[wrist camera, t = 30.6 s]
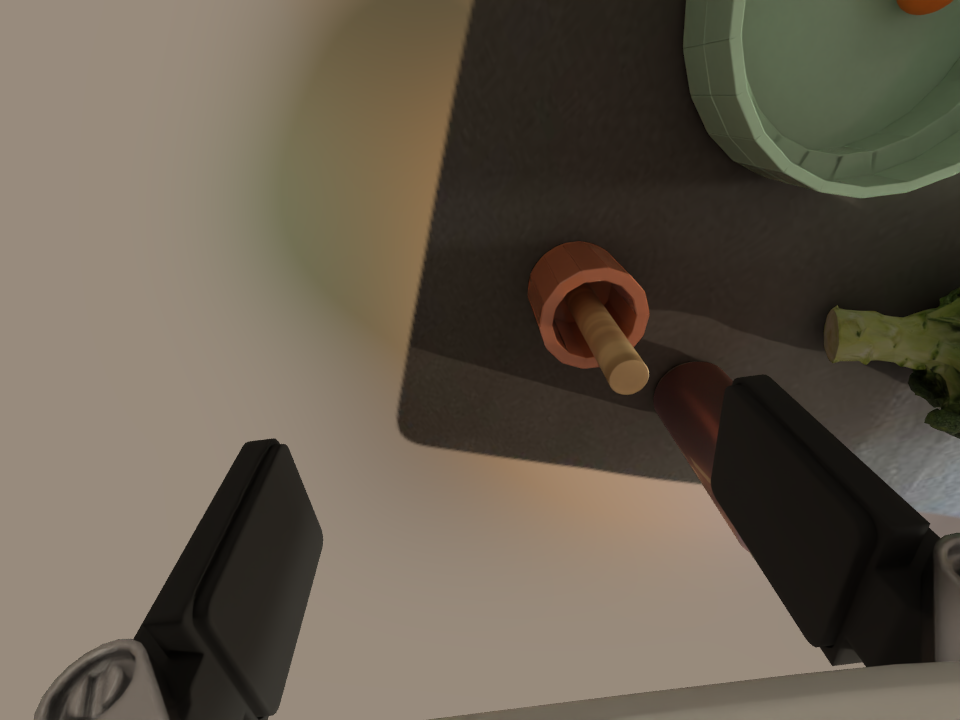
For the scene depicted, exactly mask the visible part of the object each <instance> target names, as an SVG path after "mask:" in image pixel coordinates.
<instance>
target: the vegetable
mask: <svg viewBox="0 0 960 720" xmlns="http://www.w3.org/2000/svg"><path fill="white" fill-rule="evenodd" d="M823 333H824V349H825V351H826V354H827V356H828V359H829V361H831V362H832V363H836V362H839V361H860V362H861V363H863V364H865V365H867V364H868V363H869V362H870V361H872V360H880V361H889V362H895V363H896V364H898V365H899V366H900V367H909V368H912V371H913V373H912V374H911V375H910V378H909V381H908V384H909V386H910V389H911V390H912V391H913V392H914V393H915V395H918V396H921V397H922V398H924V399H926V400H927V401H928V403H929V404H930V405H932V406H933V407H934V408H937V407H941V409H940V410H939V409H934V410H932V411H931V412H929V413H928V415H927V416H926V418H925V422H924V423H927V424H930V426H931V427H933V428H935V429H937V430H940V431H944V432H946V433H948V434H950V435H952V436H955V437H957V438H959V439H960V287H959V288H957V289H955V290H953V291H951V292H950V293H949V294H948V295H947V296H944V297H942V298H940V305H939V307H938V308H934V309H927V310H924V311H921V312H918V313H914V314H911V315H909V316H906V317H904V318H901V317H892V316H886V315H882V314H880V313H878V312H876V311H856V310H845V309H840V308H839V307H838V305H837V306H835V307H834V308H833V309H831V310H830V312H829V314H828V315H827V318H826V322H825V325H824V331H823Z"/></svg>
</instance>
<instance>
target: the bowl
mask: <svg viewBox="0 0 960 720" xmlns="http://www.w3.org/2000/svg"><path fill="white" fill-rule="evenodd" d="M683 48H684V49H683V53H684V59H685V65H686V71H687V77H688V84H689V90H690V95H691V98H692V100H693V102H694V105H695V107H696V109H697V111H698V113H699V115H700V118H701V120H702V122H703V124H704V126H705V128H706V131H707V132H708V134H709V136H710V137H711V138H712V139H713V140H714V141H715V142H716V143H717V144H718V145H719V146H720V147H721V149H722V150H723V151H724V152H725V153H726V154H727V155H728V156H729V157H730V158H731V159H732V160H733V161H734V162H736V163H738V164H740V165H742V166H744V167H746V168H747V169H749V170H751V171H753V172H755V173H757V174H759V175H761V176H763V177H765V178H769V179H772V180H776V181H780V182H784V183H787V184H791V185H795V186H799V187H802V188H806V189H810V190H814V191H818V192H823V193H829V194H835V195H842V196H848V197H854V198H868V197H876V196H884V195H892V194H900V193H906V192H910V191H912V190H915V189H918V188H921V187H923V186H926V185H929V184H931V183H934V182H937V181H939V180H942V179H945V178H947V177H950V176H953V175H955V174H957V173H959V172H960V0H953V1H952V2H951V3H950V4H948V5H947V6H945V7H944V8H942V9H940V10H938V11H936V12H933V13H930V14H925V15H912V14H908V13H906V12H905V11H903V10H902V9H901V8H900V7H899V6H898V4H897V1H896V0H686V9H685V23H684V37H683Z"/></svg>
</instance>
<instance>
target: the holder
mask: <svg viewBox="0 0 960 720" xmlns="http://www.w3.org/2000/svg"><path fill="white" fill-rule="evenodd" d="M586 282H587V283H588V284H589V286H590V287H591V288H592V290H593V291H594V293H595V294H596V295H597V297H598V298H599V300H600V301H601V303H602V304H603V305H604V307H605V308H606V310H607V311H608V312H609V314H610V315H611V317H612V318H613V319H614V321H615V322H616V324H617V325H618V326H619V328H620V329H621V331H622V332H623V333H624V335H625V336H626V338H627V339H628V341H629V342H630V343H631V345H632V346H633V347H634V346H635V345H636V344H637V343H638V342H639V340H640V339H641V338H642V336H643V335H644V332H645V329H646V325H647V322H648V318H649V315H650V314H649V308H648V303H647V298H646V293H645V291H644V290H643V288H642V287H641V286H640V285H639V284H638V283H637V282H636V281H635V279H634V278H633V277H632V276H631V275H630V274H629V273H628V272H627V271H626V270H625V269H624V268H623V267H622V266H621V265H620V264H619V263H618V262H617V261H616V260H615V259H614V258H613V257H612V256H611V255H610V254H609V253H608V252H607V251H606V250H605V249H603V248H601V247H599V246H598V245H595V244H592V243H589V242H582V241H576V242H568V243H564V244H561V245H559V246H557V247H555V248H553V249H551V250H550V251H548V252H547V253H546V254H545V255H543V256H542V257H541V258H540V260H539V261H538V262H537V263H536V265H535V266H534V268H533V270H532V272H531V275H530V278H529V281H528V299H529V302H530V305H531V308H532V311H533V314H534V317H535V320H536V323H537V325H538V328H539V331H540V334H541V336H542V339H543V342H544V345H545V347H546V349H547V350H548V351H549V352H551V353H552V354H553V355H554V356H555V357H556V358H557V359H558V360H559V361H560V362H562V363H564V364H568V365H571V366H575V367H578V368H581V369H587V368H595V367H600V366H599V364H598V363H597V361H596V359H595V357H594V355H593V353H592V351H591V350H590V348H589V346H588V344H587V342H586V340H585V338H584V336H583V335H582V333H581V331H580V329H579V327H578V325H577V323H576V322H575V320H574V318H573V316H572V314H571V312H570V310H569V308H568V307H567V305H566V303H565V301H564V299H563V298H564V296H565V295H566V294H567V293H568V292H569V291H571V290H573V289H574V288H576V287H578V286H580V285H581V284H583V283H586Z"/></svg>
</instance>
